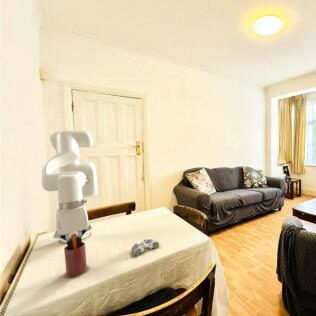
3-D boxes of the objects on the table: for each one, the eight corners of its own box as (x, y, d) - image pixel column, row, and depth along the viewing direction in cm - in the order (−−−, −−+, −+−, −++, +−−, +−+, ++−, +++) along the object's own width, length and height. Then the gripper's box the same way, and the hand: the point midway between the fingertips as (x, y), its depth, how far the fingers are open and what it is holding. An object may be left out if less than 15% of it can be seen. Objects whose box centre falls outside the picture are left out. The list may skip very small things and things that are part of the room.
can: (66, 271, 85) (63, 245, 84) (85, 264, 90) (83, 240, 89) (66, 279, 80) (64, 252, 79) (87, 272, 85) (85, 246, 84)
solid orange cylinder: (73, 262, 84) (70, 234, 83) (78, 260, 86) (76, 233, 85) (73, 264, 83) (71, 236, 82) (79, 262, 84) (76, 234, 83)
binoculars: (135, 256, 96) (134, 249, 96) (128, 250, 101) (128, 243, 101) (159, 246, 105) (158, 239, 105) (151, 241, 110) (151, 235, 110)
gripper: (93, 198, 90) (96, 238, 92) (44, 206, 80) (49, 251, 81) (96, 202, 85) (99, 244, 86) (44, 211, 74) (48, 259, 76)
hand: (74, 247), depth 84 cm, fingers closed on solid orange cylinder, 2 cm apart
